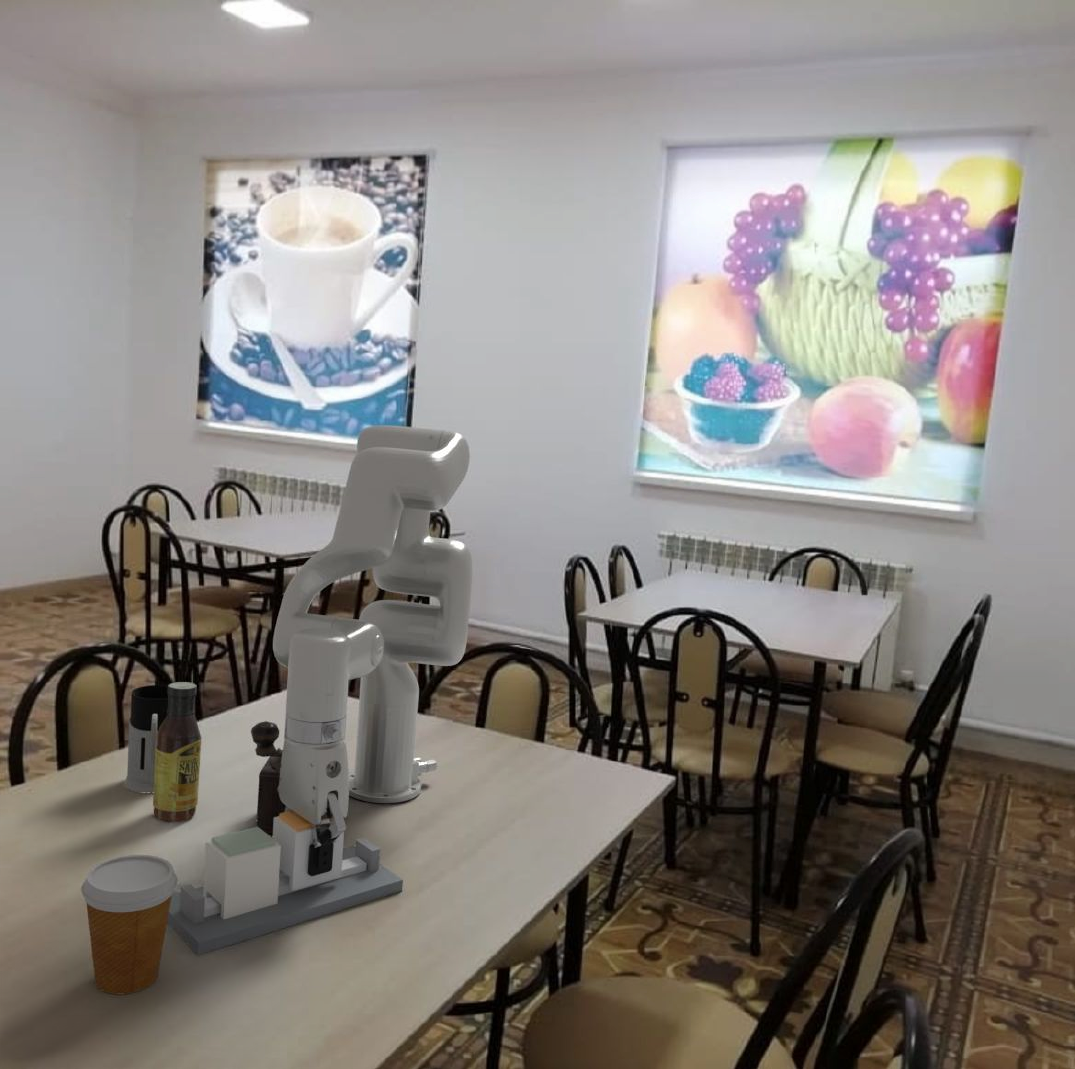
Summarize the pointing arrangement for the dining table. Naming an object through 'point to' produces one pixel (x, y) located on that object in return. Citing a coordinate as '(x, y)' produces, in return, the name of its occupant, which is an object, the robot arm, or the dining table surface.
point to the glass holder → (145, 735)
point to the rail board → (284, 909)
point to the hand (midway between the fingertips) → (307, 862)
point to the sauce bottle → (177, 757)
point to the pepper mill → (268, 775)
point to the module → (302, 850)
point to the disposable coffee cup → (128, 919)
